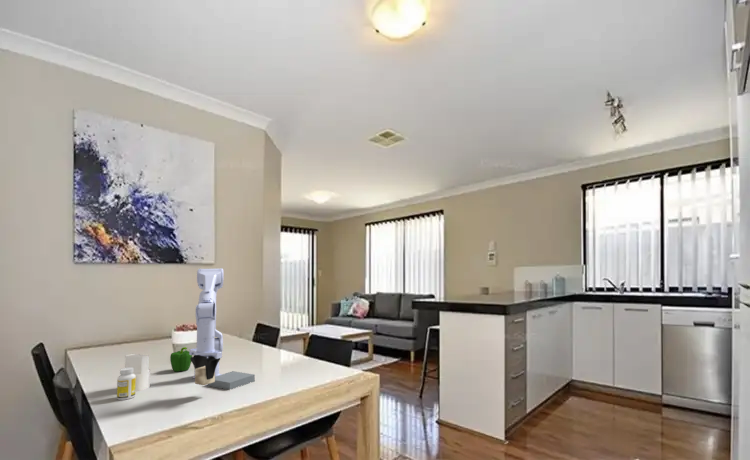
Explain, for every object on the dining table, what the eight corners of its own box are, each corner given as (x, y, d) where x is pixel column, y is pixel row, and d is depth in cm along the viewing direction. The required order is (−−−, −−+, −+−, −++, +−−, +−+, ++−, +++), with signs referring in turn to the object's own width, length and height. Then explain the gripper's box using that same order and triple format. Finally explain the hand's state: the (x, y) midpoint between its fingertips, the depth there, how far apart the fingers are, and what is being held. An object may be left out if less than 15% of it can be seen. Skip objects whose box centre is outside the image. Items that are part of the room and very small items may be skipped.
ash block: (194, 383, 137) (195, 368, 138) (206, 380, 141) (206, 365, 142) (203, 385, 135) (203, 370, 136) (214, 381, 139) (215, 367, 140)
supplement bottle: (131, 394, 142) (132, 365, 143) (137, 397, 139) (138, 368, 139) (114, 398, 138) (115, 369, 139) (120, 401, 134) (121, 371, 135)
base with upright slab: (115, 390, 146) (117, 357, 147) (137, 383, 155) (138, 352, 156) (133, 393, 143) (134, 358, 144) (155, 385, 152) (156, 353, 153)
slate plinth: (207, 385, 151) (207, 378, 151) (232, 377, 161) (233, 371, 161) (229, 389, 145) (229, 382, 145) (254, 381, 155) (254, 374, 155)
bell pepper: (166, 371, 173) (167, 347, 174) (186, 367, 180) (186, 344, 181) (175, 374, 168) (175, 349, 169) (194, 370, 174) (195, 346, 175)
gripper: (181, 338, 140) (181, 378, 139) (209, 341, 133) (209, 383, 131) (199, 334, 146) (198, 373, 145) (227, 337, 139) (226, 378, 138)
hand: (205, 377), depth 138 cm, fingers closed on ash block, 4 cm apart
